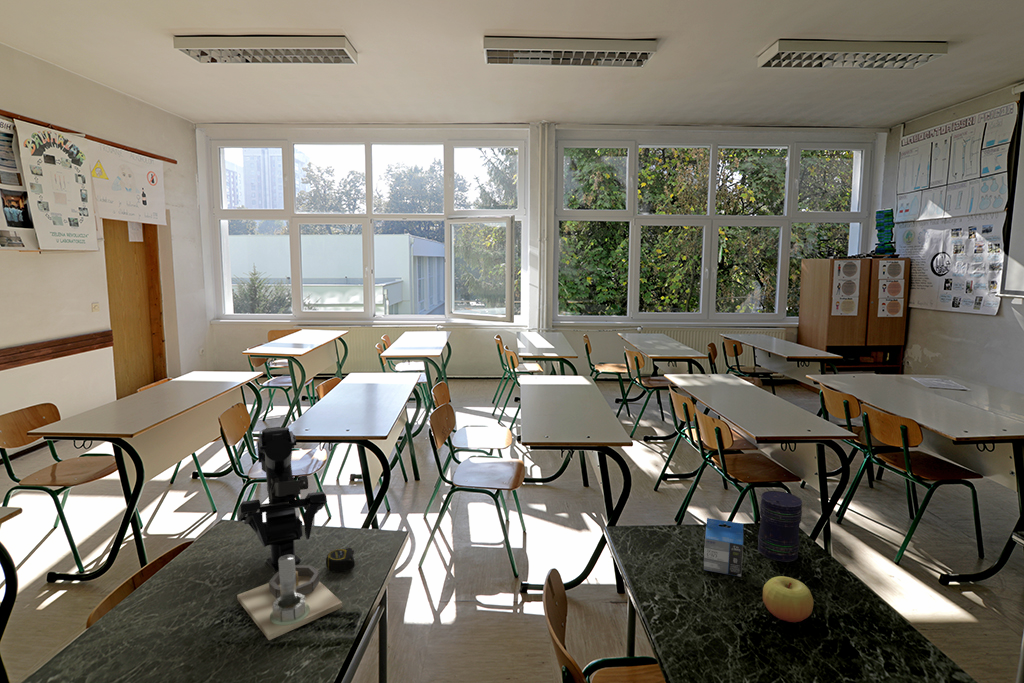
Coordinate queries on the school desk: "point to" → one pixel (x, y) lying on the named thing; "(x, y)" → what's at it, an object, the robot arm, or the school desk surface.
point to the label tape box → (723, 547)
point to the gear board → (266, 600)
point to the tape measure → (340, 560)
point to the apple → (787, 599)
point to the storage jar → (779, 525)
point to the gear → (288, 592)
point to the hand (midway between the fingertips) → (287, 542)
